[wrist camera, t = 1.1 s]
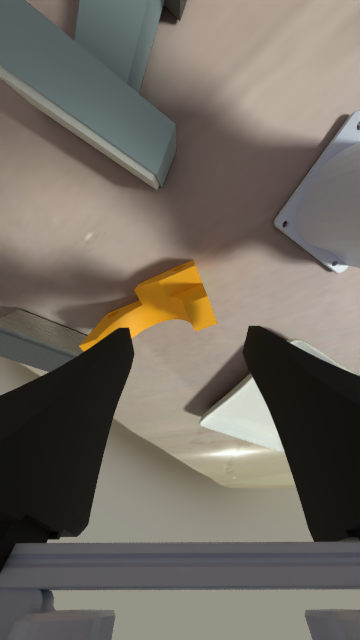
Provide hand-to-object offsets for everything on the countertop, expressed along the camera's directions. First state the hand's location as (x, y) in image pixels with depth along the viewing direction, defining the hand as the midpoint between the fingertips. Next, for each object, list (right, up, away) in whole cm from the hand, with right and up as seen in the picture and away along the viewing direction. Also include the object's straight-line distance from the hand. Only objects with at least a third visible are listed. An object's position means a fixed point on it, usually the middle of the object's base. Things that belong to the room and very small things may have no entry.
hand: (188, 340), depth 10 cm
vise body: (-16, -1, +11) cm, 20 cm away
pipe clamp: (-4, +4, +9) cm, 11 cm away
